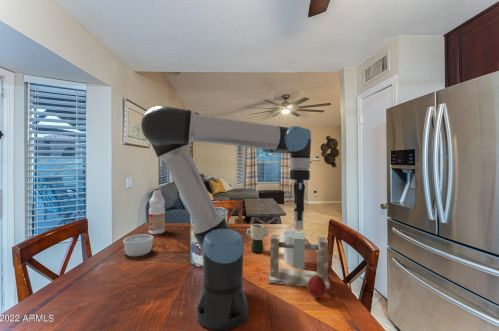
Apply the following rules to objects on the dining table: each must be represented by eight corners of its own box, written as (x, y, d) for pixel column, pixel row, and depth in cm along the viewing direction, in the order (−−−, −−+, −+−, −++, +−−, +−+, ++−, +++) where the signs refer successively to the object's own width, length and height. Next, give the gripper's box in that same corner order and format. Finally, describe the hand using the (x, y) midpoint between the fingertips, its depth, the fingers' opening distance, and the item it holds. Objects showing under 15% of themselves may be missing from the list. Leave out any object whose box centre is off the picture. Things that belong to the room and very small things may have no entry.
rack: (268, 283, 89) (269, 240, 88) (270, 271, 98) (270, 232, 98) (329, 289, 85) (330, 244, 85) (325, 276, 95) (326, 236, 95)
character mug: (268, 249, 124) (268, 224, 123) (268, 254, 116) (268, 227, 116) (247, 248, 124) (247, 223, 124) (245, 253, 117) (246, 227, 117)
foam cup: (278, 263, 106) (278, 234, 106) (285, 256, 114) (285, 229, 114) (299, 268, 102) (299, 238, 101) (304, 260, 110) (305, 232, 110)
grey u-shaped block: (293, 268, 88) (293, 238, 88) (292, 259, 96) (293, 232, 96) (304, 269, 87) (304, 239, 87) (302, 260, 95) (303, 233, 95)
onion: (312, 291, 84) (312, 268, 84) (328, 297, 80) (328, 273, 80) (304, 298, 79) (305, 274, 79) (321, 305, 75) (321, 280, 75)
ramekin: (131, 260, 107) (131, 244, 107) (117, 253, 115) (118, 238, 115) (158, 251, 118) (158, 237, 118) (144, 245, 126) (144, 232, 126)
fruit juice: (160, 234, 144) (160, 188, 144) (145, 234, 145) (146, 188, 145) (167, 230, 154) (167, 187, 153) (153, 229, 155) (153, 186, 154)
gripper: (313, 170, 78) (311, 234, 79) (307, 169, 103) (305, 218, 103) (290, 169, 80) (288, 233, 80) (289, 168, 104) (288, 216, 104)
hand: (298, 224), depth 91 cm, fingers open, 13 cm apart
